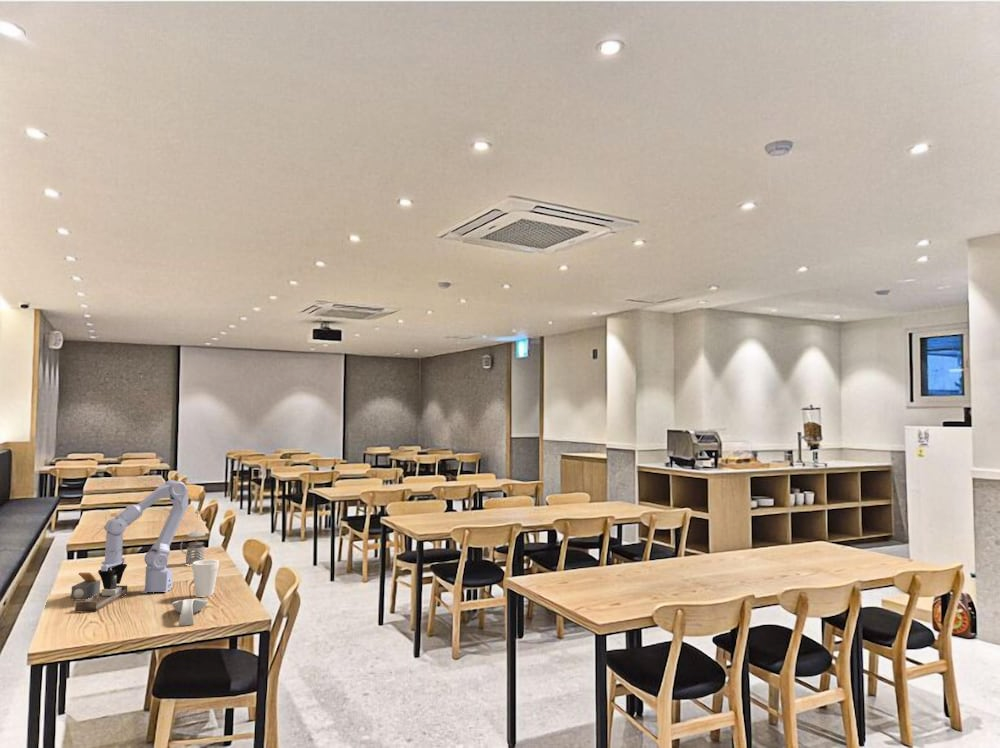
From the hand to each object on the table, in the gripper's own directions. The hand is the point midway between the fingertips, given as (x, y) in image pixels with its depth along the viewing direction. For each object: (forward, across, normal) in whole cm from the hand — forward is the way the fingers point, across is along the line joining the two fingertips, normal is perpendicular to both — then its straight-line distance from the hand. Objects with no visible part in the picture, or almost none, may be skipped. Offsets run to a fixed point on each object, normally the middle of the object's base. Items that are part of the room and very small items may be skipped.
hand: (112, 586), depth 260 cm
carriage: (+3, 0, 0) cm, 3 cm away
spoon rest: (+5, +25, +38) cm, 46 cm away
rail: (+4, +7, 0) cm, 8 cm away
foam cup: (+5, -2, +34) cm, 34 cm away
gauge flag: (-3, -3, -11) cm, 11 cm away
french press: (+5, -60, +9) cm, 61 cm away
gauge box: (+4, -2, -10) cm, 12 cm away
